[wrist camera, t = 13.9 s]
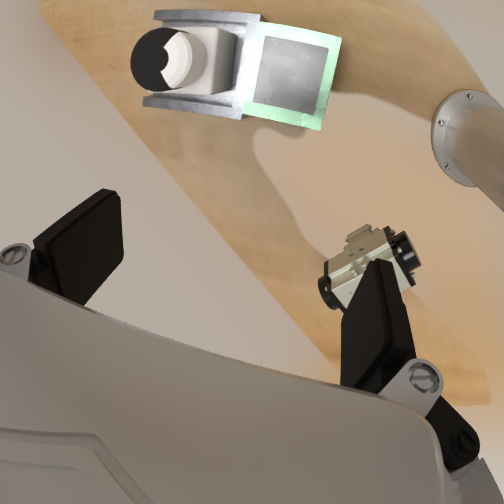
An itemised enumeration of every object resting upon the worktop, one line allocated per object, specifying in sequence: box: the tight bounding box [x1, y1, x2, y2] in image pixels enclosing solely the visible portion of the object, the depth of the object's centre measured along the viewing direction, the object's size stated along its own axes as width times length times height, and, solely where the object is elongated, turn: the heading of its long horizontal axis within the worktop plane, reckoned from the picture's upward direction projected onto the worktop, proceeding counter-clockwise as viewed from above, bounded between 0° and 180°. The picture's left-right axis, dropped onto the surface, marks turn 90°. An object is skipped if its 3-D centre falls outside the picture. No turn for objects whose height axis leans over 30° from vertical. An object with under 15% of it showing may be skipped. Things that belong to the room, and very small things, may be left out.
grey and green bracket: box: [143, 10, 342, 131], centre depth 29 cm, size 21×12×7 cm, turn 80°
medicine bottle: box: [130, 27, 237, 95], centre depth 26 cm, size 7×7×12 cm
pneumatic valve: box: [318, 224, 421, 313], centre depth 35 cm, size 6×12×12 cm, turn 131°
